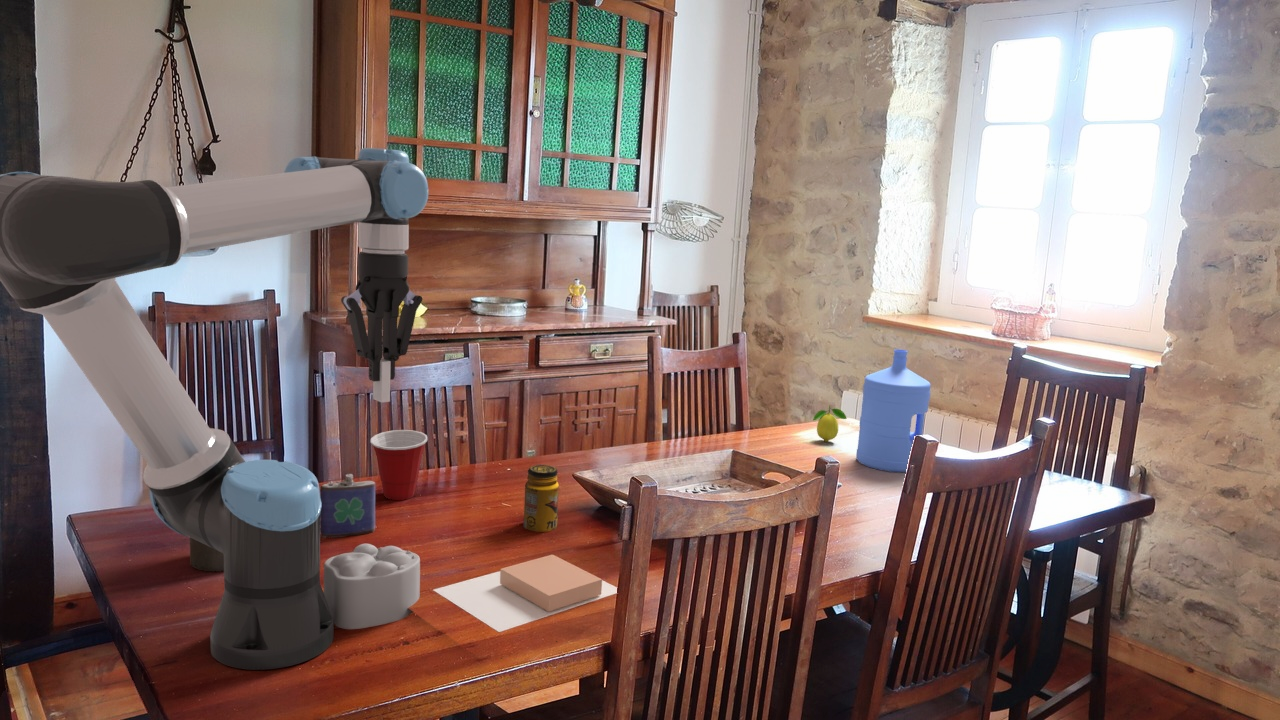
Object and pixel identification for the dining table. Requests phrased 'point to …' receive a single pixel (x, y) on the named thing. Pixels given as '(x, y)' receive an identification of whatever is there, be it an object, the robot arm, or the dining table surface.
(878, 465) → the water jug
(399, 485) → the plastic cup
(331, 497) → the flask
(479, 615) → the board
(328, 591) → the lumpy-topped squat cylinder
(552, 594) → the tile
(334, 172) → the robot arm
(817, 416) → the lemon
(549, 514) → the condiment
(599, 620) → the dining table surface
